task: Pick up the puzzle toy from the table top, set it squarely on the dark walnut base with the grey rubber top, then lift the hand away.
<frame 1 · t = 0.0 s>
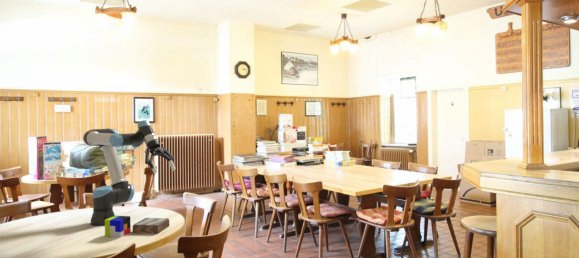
hand: (165, 171, 246), 36 cm above the table, tool tilted 35°, fingers open, 13 cm apart
walnut base: (151, 229, 248), on the table
puzzle toy: (118, 235, 237), on the table
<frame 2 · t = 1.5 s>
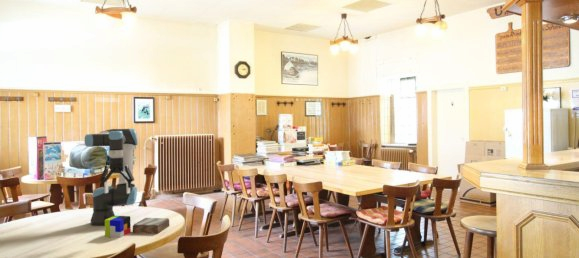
hand: (117, 193, 237), 25 cm above the table, tool pointing down, fingers open, 13 cm apart
nothing on the table moved.
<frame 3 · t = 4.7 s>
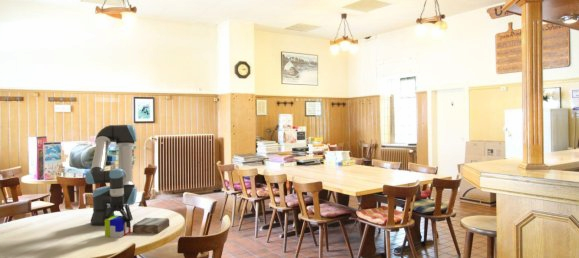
hand: (118, 232, 237), 1 cm above the table, tool pointing down, fingers closed on puzzle toy, 10 cm apart
puzzle toy: (118, 234, 237), on the table, touching gripper
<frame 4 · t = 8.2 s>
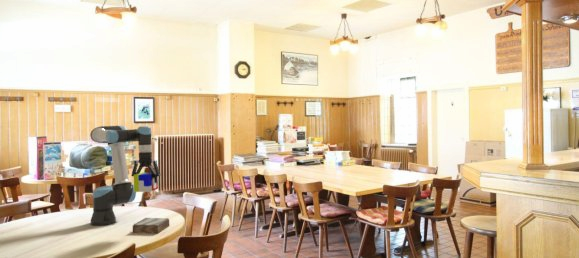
hand: (146, 187, 245), 26 cm above the table, tool pointing down, fingers closed on puzzle toy, 10 cm apart
puzzle toy: (146, 190, 245), point 24 cm above the table, touching gripper
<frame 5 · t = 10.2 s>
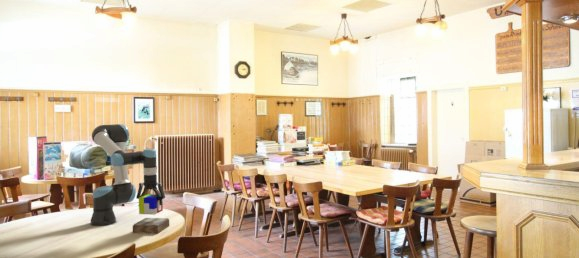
hand: (151, 210, 247), 12 cm above the table, tool pointing down, fingers closed on puzzle toy, 10 cm apart
puzzle toy: (151, 212, 247), point 10 cm above the table, touching gripper
when the fingers open (8 cm above the table, at t = 12.0 s): puzzle toy drops 1 cm, resting on walnut base.
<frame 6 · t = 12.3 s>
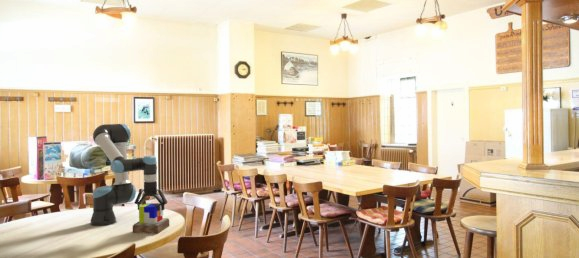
hand: (151, 215, 247), 9 cm above the table, tool pointing down, fingers open, 13 cm apart
puzzle toy: (151, 221, 247), point 5 cm above the table, touching walnut base
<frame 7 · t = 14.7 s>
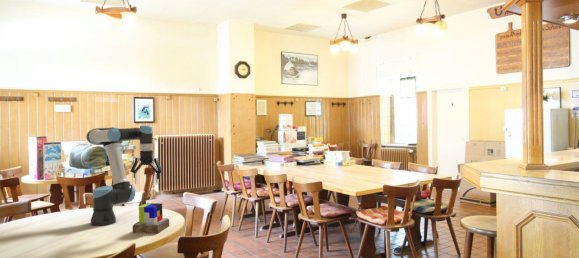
hand: (146, 183, 252), 27 cm above the table, tool pointing down, fingers open, 13 cm apart
nothing on the table moved.
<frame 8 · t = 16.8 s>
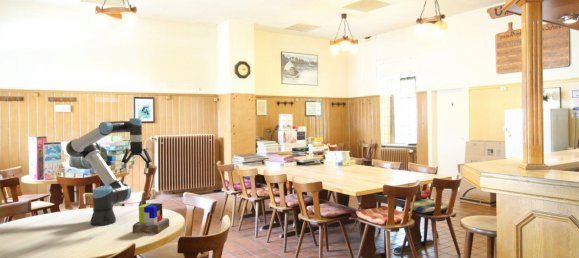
hand: (137, 173, 268), 32 cm above the table, tool pointing down, fingers open, 13 cm apart
nothing on the table moved.
at the end: puzzle toy inside the target area on the walnut base (0.2 cm from its centre), point 4.8 cm above the walnut base's base; puzzle toy tilted 0°; the gripper is holding nothing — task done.
